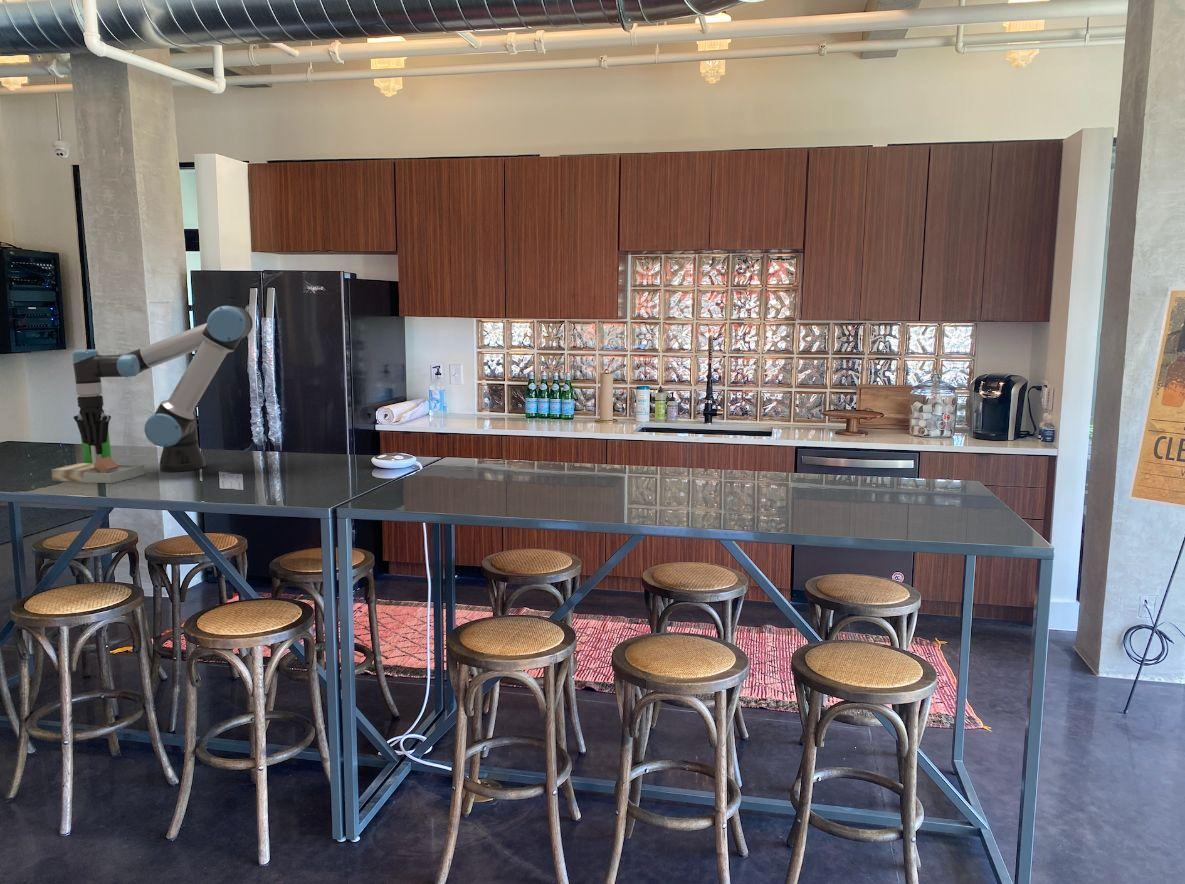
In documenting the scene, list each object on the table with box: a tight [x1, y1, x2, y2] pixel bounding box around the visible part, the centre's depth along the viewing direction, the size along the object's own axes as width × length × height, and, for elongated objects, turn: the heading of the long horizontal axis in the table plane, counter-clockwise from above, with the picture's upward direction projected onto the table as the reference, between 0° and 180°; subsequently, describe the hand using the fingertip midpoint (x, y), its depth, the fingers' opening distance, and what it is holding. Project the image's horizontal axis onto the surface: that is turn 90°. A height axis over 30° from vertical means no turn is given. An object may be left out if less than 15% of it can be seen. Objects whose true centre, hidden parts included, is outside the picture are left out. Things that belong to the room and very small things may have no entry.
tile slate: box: [108, 468, 128, 473], centre depth 294 cm, size 5×5×3 cm
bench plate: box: [51, 462, 97, 483], centre depth 297 cm, size 14×12×4 cm
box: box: [83, 463, 146, 485], centre depth 294 cm, size 10×16×4 cm, turn 169°
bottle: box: [80, 430, 112, 463], centre depth 312 cm, size 9×9×25 cm
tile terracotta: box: [93, 457, 119, 473], centre depth 294 cm, size 5×5×3 cm
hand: (97, 463), depth 295 cm, fingers closed
